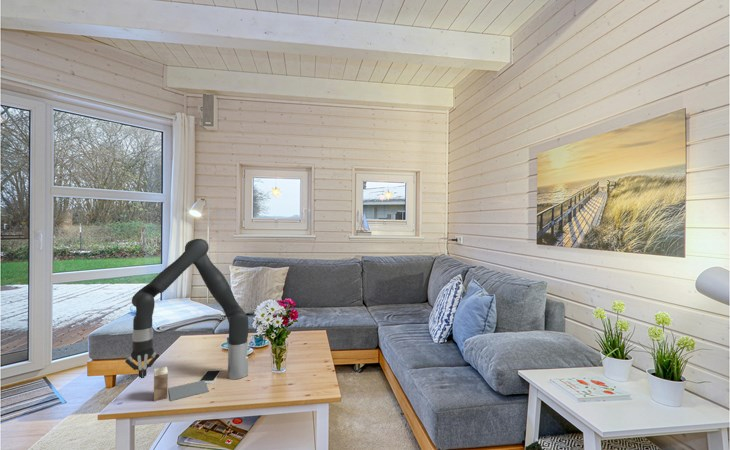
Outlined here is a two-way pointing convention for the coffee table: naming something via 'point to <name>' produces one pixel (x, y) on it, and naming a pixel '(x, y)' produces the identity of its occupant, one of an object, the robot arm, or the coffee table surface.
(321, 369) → the coffee table surface
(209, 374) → the smartphone
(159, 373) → the brown wooden block
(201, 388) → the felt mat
